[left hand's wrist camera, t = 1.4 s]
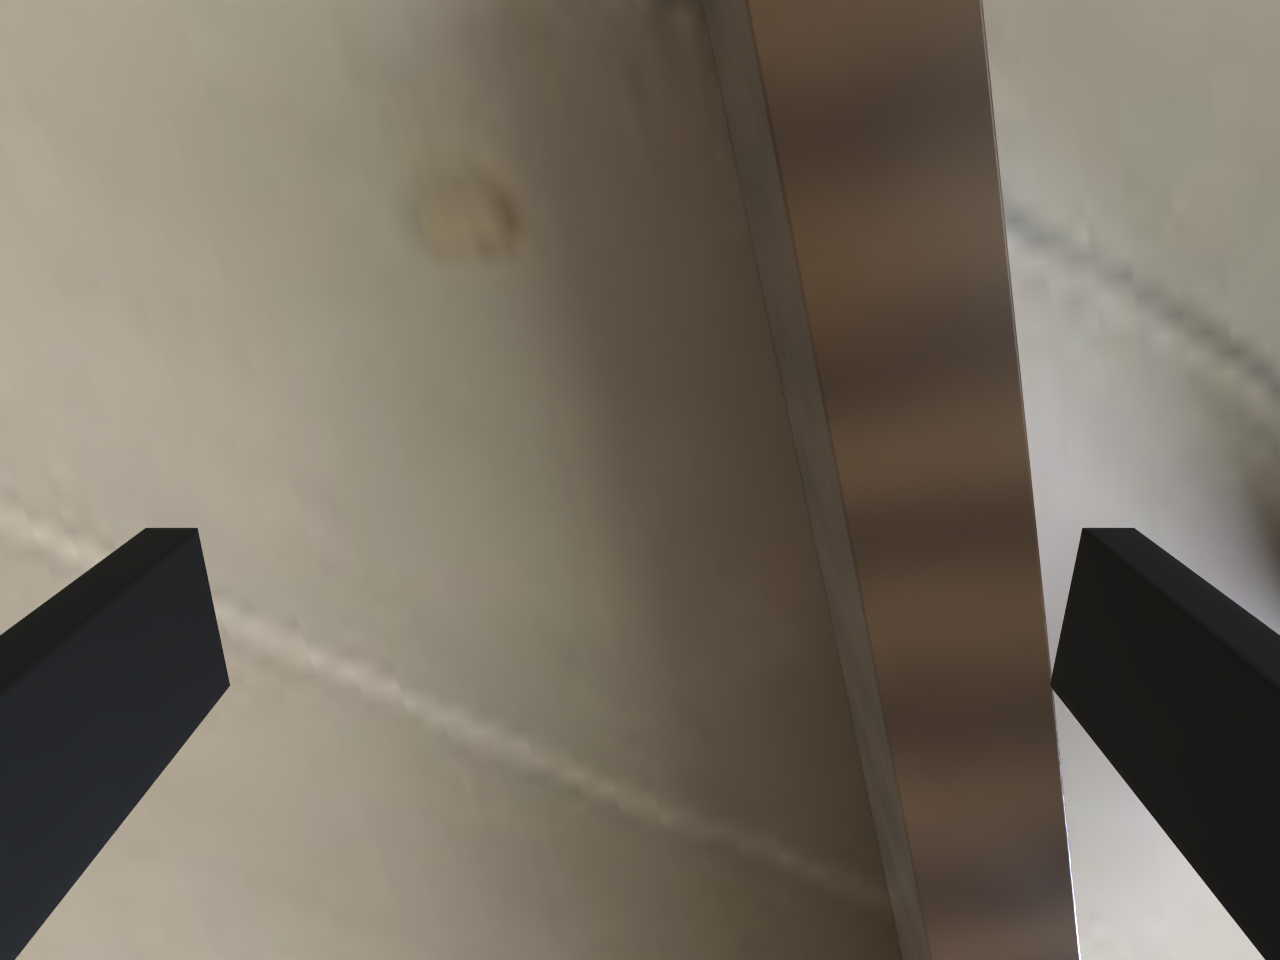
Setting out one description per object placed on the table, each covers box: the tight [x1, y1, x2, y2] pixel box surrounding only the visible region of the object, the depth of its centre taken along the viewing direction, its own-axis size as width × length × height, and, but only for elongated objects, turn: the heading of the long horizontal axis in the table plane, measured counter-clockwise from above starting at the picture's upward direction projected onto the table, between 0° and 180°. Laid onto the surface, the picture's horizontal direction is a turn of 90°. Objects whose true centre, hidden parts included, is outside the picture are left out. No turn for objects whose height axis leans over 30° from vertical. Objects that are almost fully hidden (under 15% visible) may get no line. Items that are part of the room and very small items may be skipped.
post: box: [702, 0, 1081, 960], centre depth 33 cm, size 70×5×8 cm, turn 15°
